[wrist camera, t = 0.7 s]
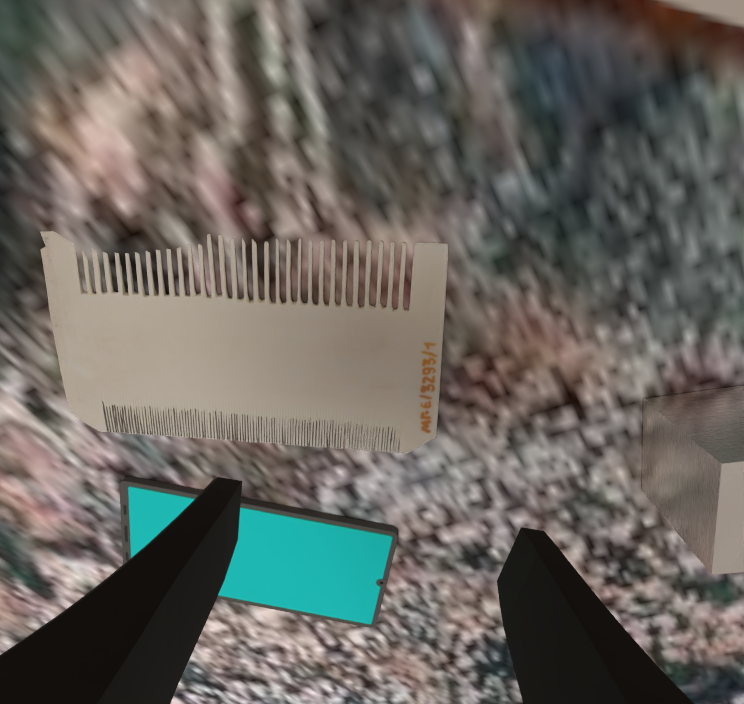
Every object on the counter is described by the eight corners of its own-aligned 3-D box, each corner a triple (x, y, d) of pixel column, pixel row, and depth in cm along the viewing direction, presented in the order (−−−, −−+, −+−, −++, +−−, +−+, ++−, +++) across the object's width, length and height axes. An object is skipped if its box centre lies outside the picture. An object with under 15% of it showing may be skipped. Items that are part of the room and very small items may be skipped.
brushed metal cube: (753, 477, 20) (859, 562, 15) (641, 489, 21) (711, 574, 16) (764, 382, 18) (887, 444, 14) (643, 398, 19) (721, 463, 14)
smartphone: (118, 480, 22) (399, 533, 22) (128, 470, 23) (399, 521, 23) (124, 582, 25) (374, 630, 25) (132, 570, 26) (375, 616, 26)
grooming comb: (453, 242, 18) (455, 244, 17) (434, 450, 21) (434, 459, 21) (37, 226, 19) (22, 227, 18) (84, 426, 22) (73, 433, 22)
